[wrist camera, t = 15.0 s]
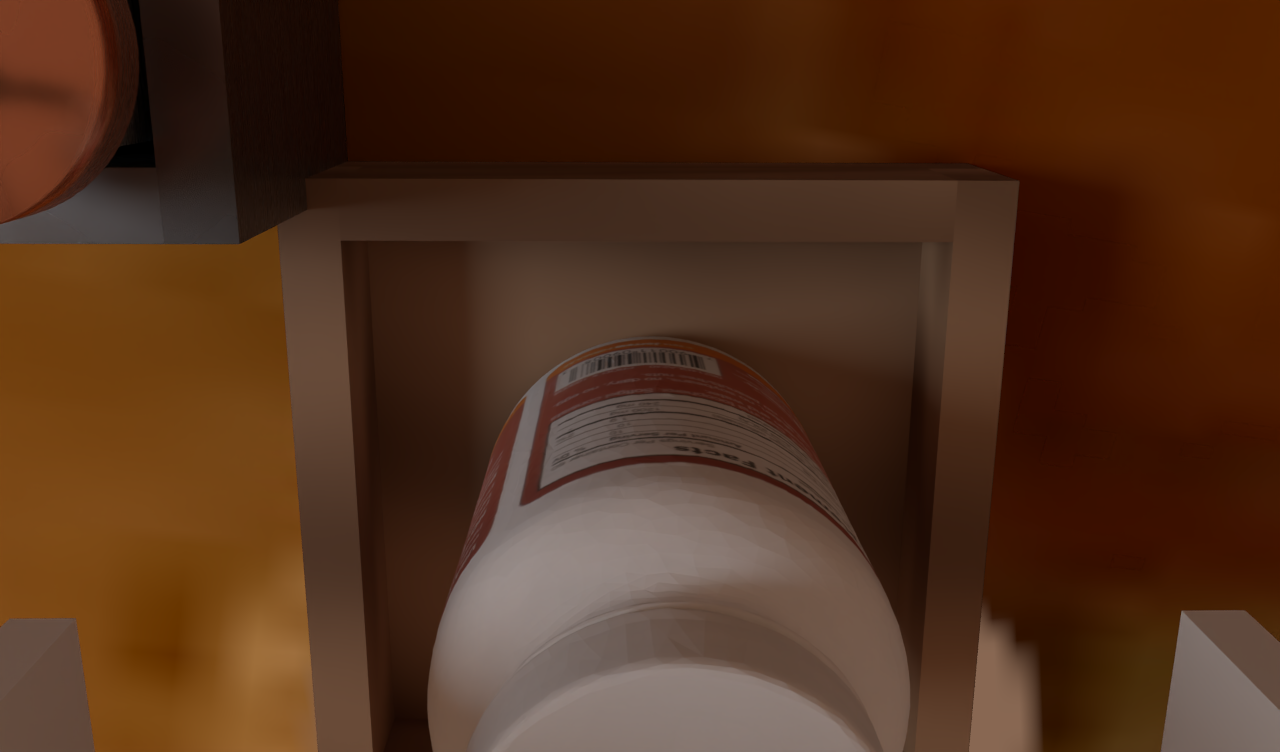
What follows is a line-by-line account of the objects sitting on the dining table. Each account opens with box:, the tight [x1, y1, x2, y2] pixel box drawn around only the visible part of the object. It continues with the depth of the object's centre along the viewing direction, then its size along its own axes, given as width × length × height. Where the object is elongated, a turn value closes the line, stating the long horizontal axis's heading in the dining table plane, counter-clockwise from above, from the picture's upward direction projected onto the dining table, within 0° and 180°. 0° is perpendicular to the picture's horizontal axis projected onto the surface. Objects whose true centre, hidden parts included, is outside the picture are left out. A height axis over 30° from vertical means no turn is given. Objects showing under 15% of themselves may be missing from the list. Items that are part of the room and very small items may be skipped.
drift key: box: [0, 0, 153, 224], centre depth 16 cm, size 4×4×7 cm
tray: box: [278, 161, 1019, 752], centre depth 22 cm, size 12×12×3 cm
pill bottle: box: [427, 336, 910, 752], centre depth 17 cm, size 6×6×11 cm
